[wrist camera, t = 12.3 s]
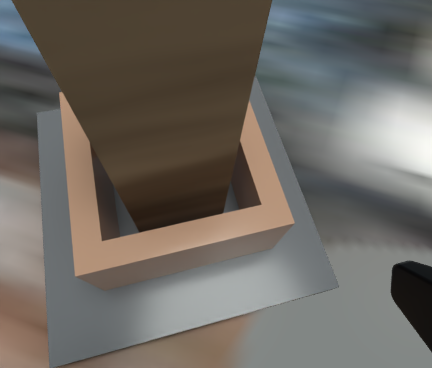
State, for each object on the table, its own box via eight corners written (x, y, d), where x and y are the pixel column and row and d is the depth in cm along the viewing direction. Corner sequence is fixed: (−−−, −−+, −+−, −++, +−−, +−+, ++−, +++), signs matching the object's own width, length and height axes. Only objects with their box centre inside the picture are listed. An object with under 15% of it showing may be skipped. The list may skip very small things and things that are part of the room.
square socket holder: (332, 289, 16) (383, 272, 12) (57, 367, 14) (-5, 381, 10) (254, 85, 21) (269, 21, 17) (42, 121, 19) (-3, 58, 15)
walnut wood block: (221, 218, 16) (289, -76, 5) (142, 237, 16) (-15, -47, 4) (202, 151, 18) (216, -198, 6) (129, 165, 17) (-12, -192, 6)
